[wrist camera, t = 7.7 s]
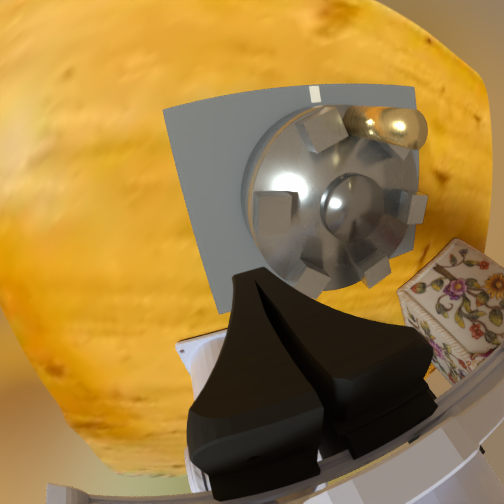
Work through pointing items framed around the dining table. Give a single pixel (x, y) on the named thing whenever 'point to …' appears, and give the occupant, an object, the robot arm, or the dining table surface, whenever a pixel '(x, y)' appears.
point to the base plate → (235, 159)
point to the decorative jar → (457, 308)
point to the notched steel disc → (334, 193)
